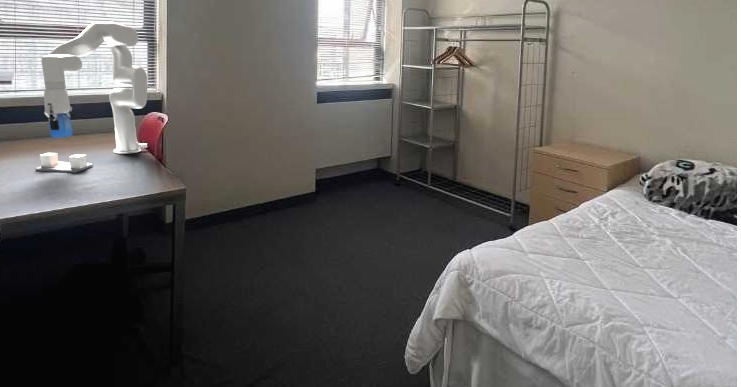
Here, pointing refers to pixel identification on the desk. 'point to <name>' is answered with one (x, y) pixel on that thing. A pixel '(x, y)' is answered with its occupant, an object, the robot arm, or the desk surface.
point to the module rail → (63, 163)
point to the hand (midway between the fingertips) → (61, 128)
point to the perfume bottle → (62, 127)
